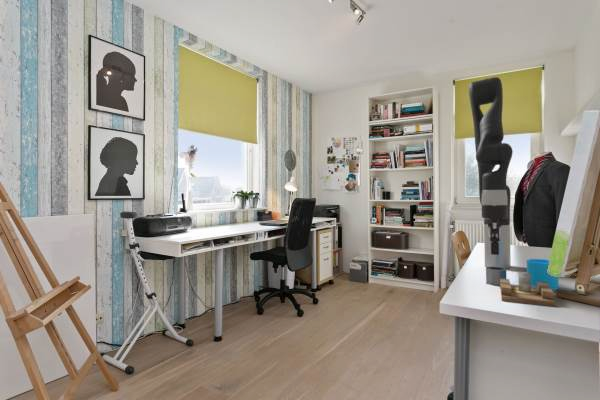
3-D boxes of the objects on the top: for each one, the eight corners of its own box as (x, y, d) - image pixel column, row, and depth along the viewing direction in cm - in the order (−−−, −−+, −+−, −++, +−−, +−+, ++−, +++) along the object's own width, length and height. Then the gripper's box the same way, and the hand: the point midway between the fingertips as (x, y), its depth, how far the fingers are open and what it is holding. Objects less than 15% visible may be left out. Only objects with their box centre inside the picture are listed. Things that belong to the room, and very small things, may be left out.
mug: (559, 291, 105) (558, 264, 105) (526, 288, 109) (526, 262, 109) (557, 283, 115) (556, 258, 115) (527, 280, 119) (527, 256, 119)
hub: (486, 280, 119) (486, 266, 119) (505, 282, 117) (505, 267, 117) (486, 284, 114) (486, 269, 114) (506, 286, 111) (506, 270, 111)
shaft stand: (500, 287, 111) (499, 266, 111) (546, 291, 105) (545, 269, 105) (501, 300, 96) (501, 277, 96) (555, 306, 91) (554, 281, 91)
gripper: (482, 203, 123) (482, 249, 123) (480, 204, 111) (481, 255, 111) (506, 203, 120) (507, 250, 120) (508, 204, 107) (508, 256, 107)
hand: (494, 252), depth 115 cm, fingers open, 8 cm apart
